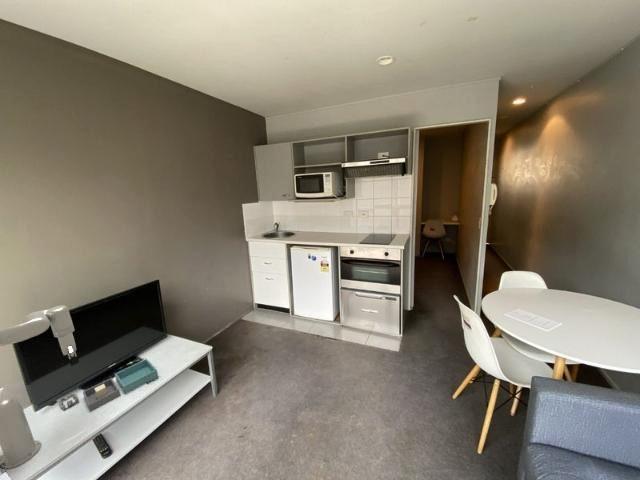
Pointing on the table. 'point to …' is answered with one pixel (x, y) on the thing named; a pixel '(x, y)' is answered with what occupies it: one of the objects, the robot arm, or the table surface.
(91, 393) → the bin
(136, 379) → the bin
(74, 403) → the egg carton
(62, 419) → the table surface
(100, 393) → the stone block
